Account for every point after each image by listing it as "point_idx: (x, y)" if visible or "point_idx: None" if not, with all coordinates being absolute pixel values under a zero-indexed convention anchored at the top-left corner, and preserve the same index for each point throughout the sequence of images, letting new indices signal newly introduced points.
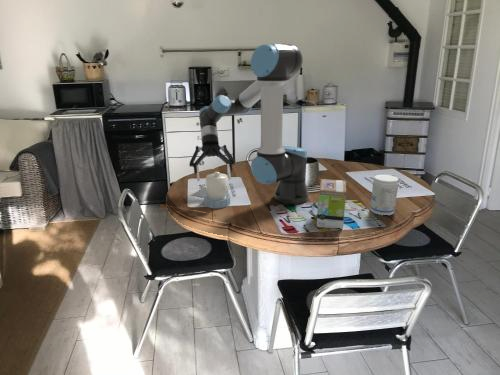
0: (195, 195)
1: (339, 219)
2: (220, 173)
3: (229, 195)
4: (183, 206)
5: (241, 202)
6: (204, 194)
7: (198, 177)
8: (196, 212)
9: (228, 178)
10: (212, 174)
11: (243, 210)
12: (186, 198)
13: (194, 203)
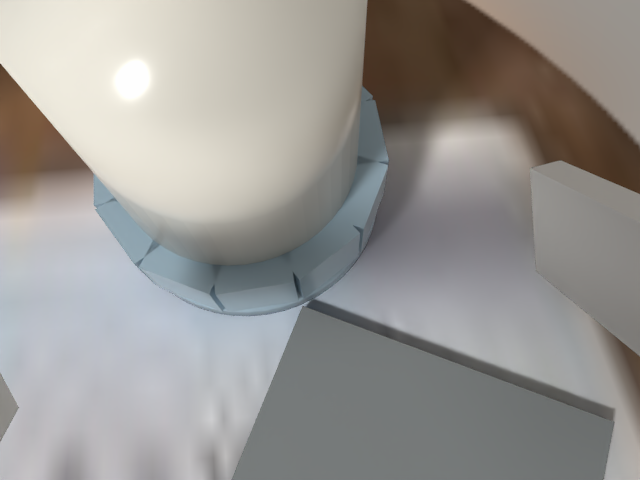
0: (547, 425)
1: None
2: (96, 104)
3: (98, 197)
4: (564, 131)
5: (9, 272)
6: (444, 476)
7: (554, 169)
8: (407, 22)
9: (7, 408)
10: (261, 30)
11: (18, 87)
12: (626, 352)
13: (485, 210)
